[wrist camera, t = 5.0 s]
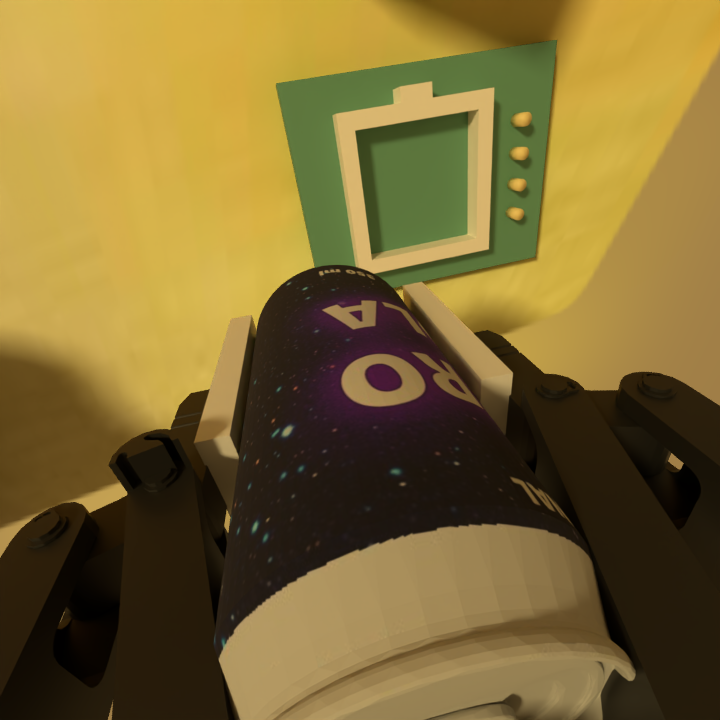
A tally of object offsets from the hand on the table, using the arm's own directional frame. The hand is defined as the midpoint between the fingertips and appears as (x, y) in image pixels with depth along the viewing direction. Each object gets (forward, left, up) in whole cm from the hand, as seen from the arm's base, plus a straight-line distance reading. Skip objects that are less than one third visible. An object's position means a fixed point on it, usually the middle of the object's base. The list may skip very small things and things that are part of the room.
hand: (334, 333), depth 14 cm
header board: (+9, +2, -16) cm, 19 cm away
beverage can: (0, 0, -1) cm, 1 cm away
